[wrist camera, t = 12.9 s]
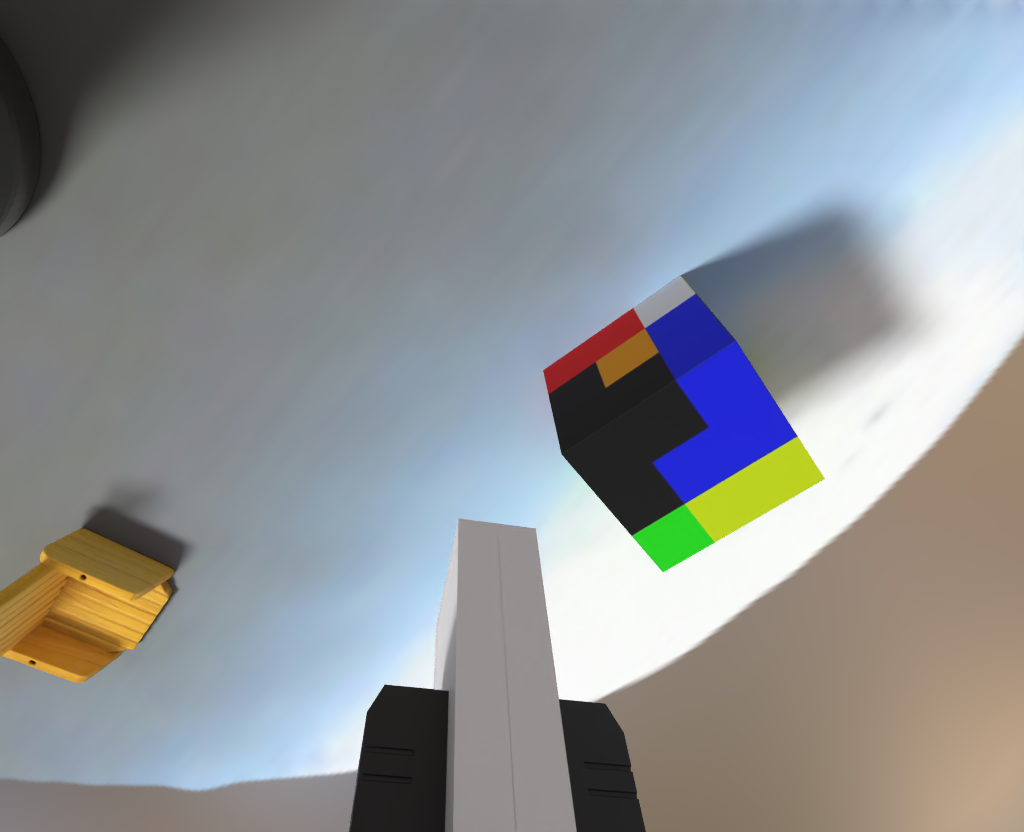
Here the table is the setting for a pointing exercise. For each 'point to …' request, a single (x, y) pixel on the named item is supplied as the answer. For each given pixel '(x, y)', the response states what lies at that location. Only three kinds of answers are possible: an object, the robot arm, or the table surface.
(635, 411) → the puzzle toy
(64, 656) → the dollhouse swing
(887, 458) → the table surface
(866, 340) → the table surface
